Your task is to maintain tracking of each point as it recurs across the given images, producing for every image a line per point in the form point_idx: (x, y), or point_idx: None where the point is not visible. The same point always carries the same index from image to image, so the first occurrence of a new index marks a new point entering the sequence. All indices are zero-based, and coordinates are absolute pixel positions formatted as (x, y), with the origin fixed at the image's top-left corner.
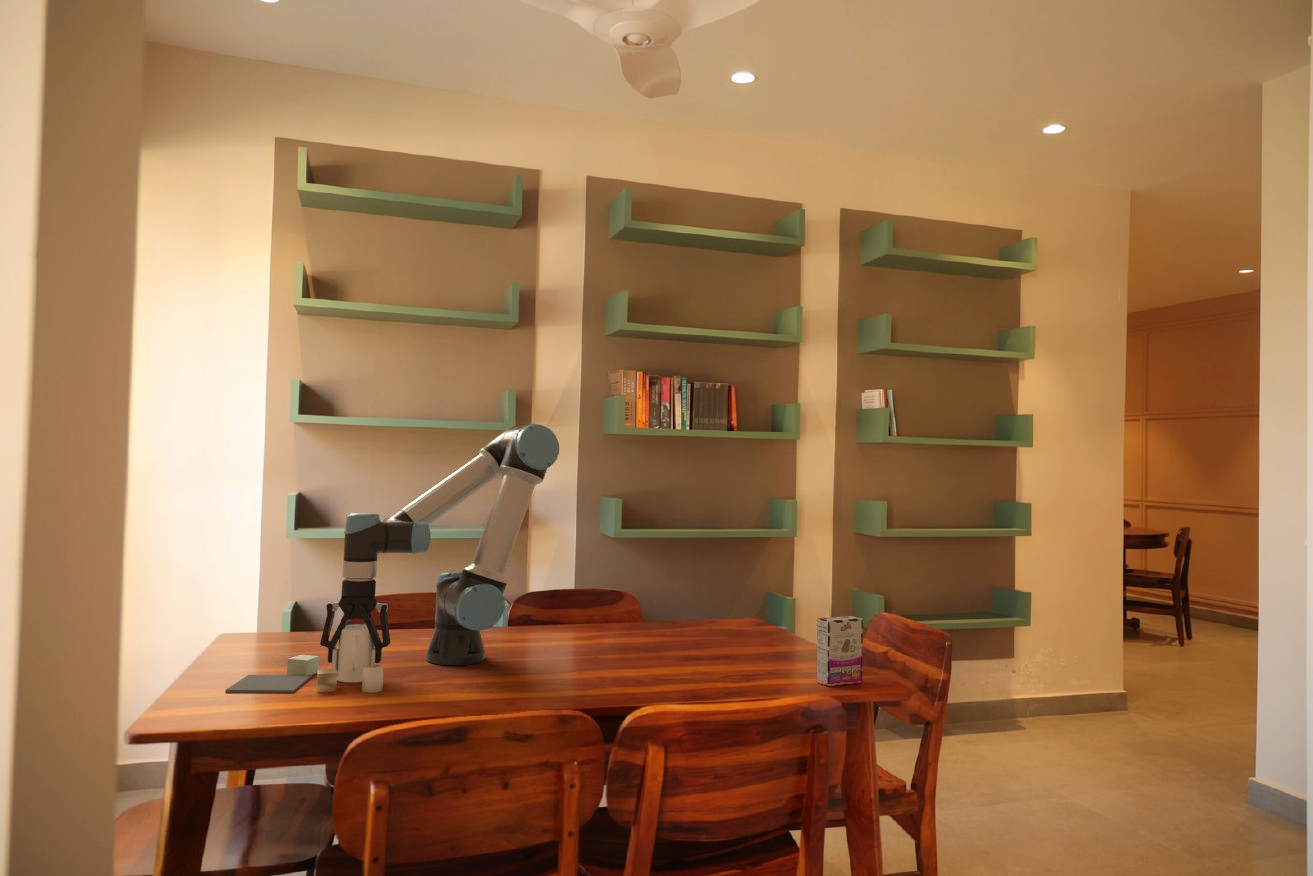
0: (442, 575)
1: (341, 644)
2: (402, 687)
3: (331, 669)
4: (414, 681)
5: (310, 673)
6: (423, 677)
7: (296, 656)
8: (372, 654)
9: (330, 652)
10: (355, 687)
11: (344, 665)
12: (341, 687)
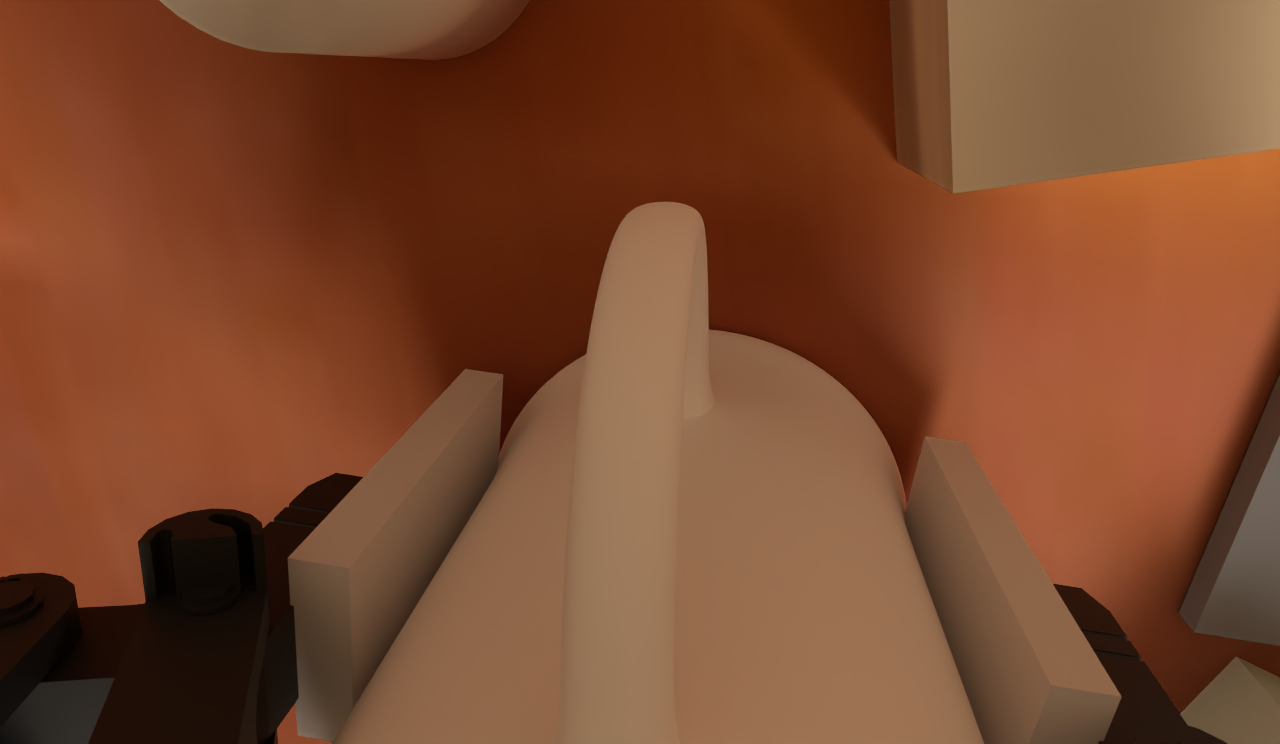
0: None
1: None
2: (98, 42)
3: (1042, 167)
4: (53, 320)
5: None
6: (19, 475)
7: None
8: (367, 518)
9: (1131, 699)
10: (647, 94)
11: (829, 461)
12: (821, 111)
